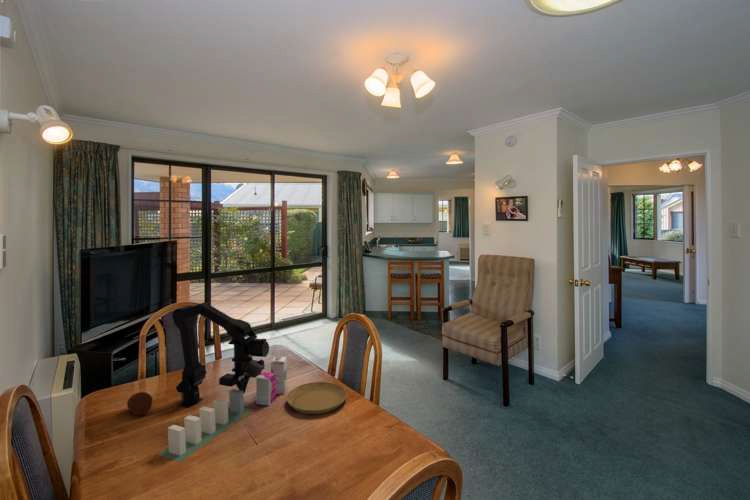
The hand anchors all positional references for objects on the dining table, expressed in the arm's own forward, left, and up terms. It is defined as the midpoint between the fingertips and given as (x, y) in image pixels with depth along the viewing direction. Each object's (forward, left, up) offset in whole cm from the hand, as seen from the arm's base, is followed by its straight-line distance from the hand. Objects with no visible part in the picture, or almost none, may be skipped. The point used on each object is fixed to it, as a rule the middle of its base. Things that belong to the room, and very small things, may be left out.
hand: (242, 393), depth 137 cm
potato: (-35, -16, -6) cm, 39 cm away
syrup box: (+5, +16, -6) cm, 18 cm away
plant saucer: (+25, +14, -6) cm, 30 cm away
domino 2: (0, -24, -6) cm, 24 cm away
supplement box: (+6, +6, -6) cm, 11 cm away
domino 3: (0, -18, -6) cm, 18 cm away
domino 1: (0, -30, -6) cm, 30 cm away
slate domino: (0, -4, -6) cm, 7 cm away
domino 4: (0, -12, -6) cm, 13 cm away
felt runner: (0, -16, -6) cm, 17 cm away
